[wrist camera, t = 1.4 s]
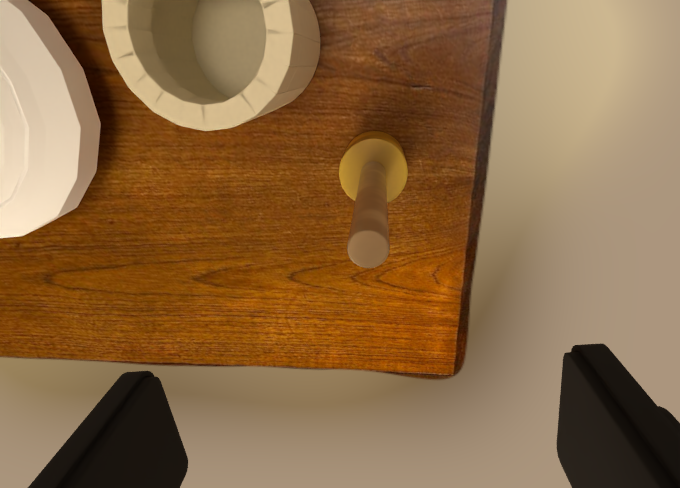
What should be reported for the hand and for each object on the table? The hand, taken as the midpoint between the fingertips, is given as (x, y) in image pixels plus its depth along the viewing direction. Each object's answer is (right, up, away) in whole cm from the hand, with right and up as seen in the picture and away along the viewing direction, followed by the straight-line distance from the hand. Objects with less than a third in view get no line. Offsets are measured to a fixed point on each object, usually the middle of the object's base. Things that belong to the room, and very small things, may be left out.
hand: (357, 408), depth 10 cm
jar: (-7, +19, +22) cm, 30 cm away
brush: (+2, +10, +25) cm, 27 cm away
